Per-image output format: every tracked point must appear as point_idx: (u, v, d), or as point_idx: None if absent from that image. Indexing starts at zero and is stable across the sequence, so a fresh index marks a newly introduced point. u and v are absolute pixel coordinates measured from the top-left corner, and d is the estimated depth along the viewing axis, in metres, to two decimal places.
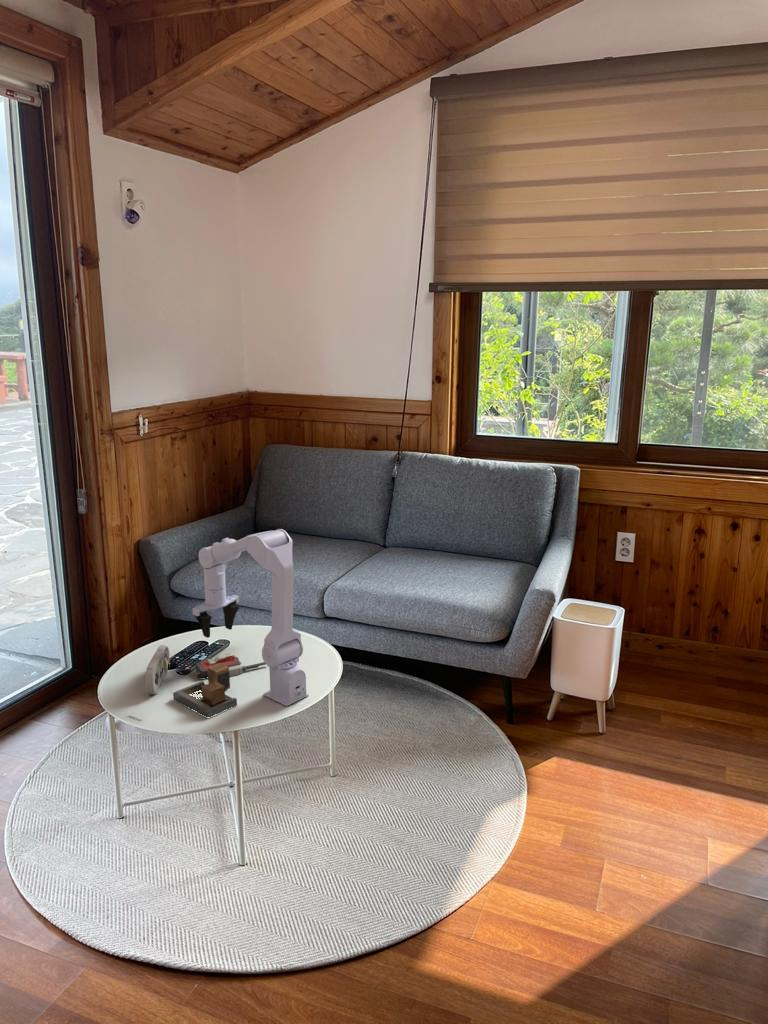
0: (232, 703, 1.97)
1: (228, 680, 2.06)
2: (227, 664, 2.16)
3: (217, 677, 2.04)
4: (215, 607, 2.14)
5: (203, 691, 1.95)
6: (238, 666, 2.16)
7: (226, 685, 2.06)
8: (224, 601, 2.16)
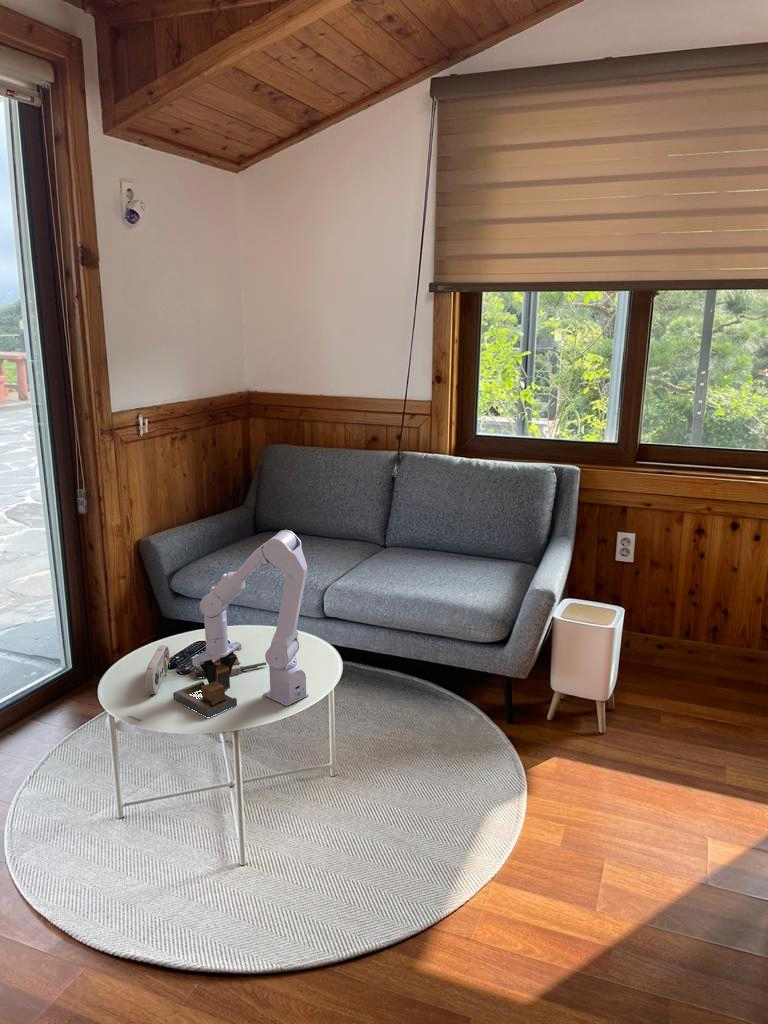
0: (232, 703, 1.97)
1: (228, 680, 2.06)
2: None
3: (217, 677, 2.04)
4: (216, 657, 2.02)
5: (203, 691, 1.95)
6: (237, 666, 2.16)
7: (226, 685, 2.06)
8: (226, 650, 2.04)
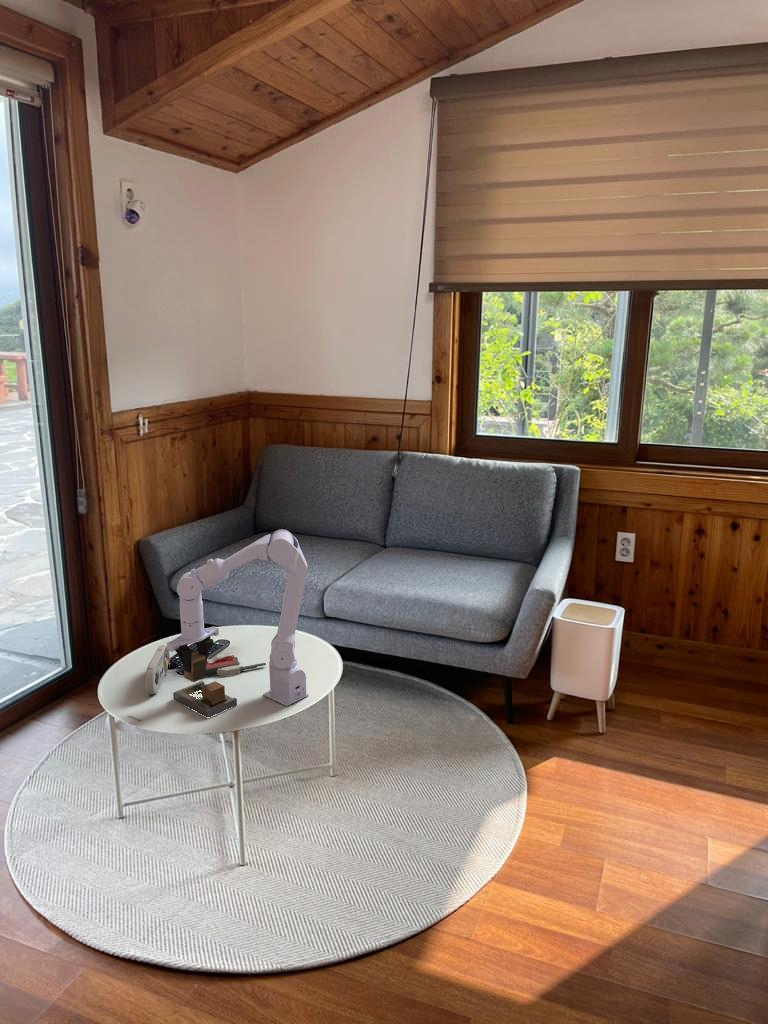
0: (232, 703, 1.97)
1: (204, 669, 1.99)
2: (225, 664, 2.16)
3: (193, 666, 1.97)
4: (192, 641, 1.95)
5: (203, 691, 1.95)
6: (236, 666, 2.16)
7: (202, 674, 1.99)
8: (202, 634, 1.96)
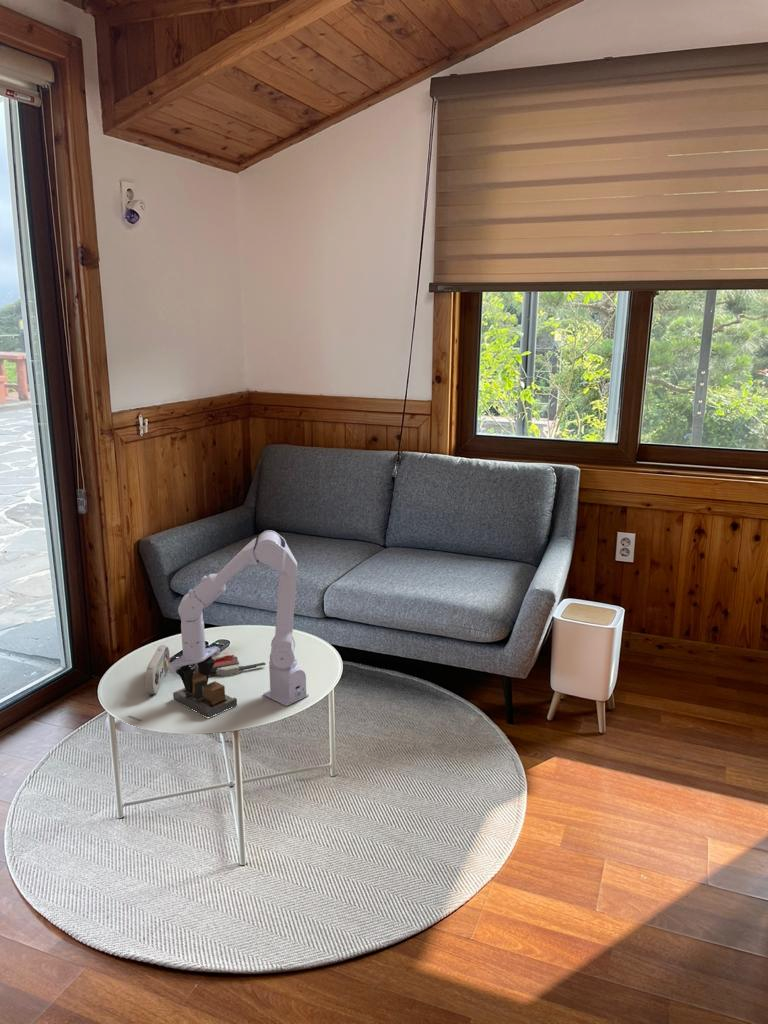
0: (232, 703, 1.97)
1: None
2: (224, 663, 2.17)
3: (194, 686, 1.98)
4: (193, 662, 1.96)
5: (203, 691, 1.95)
6: (235, 666, 2.16)
7: None
8: (203, 655, 1.98)
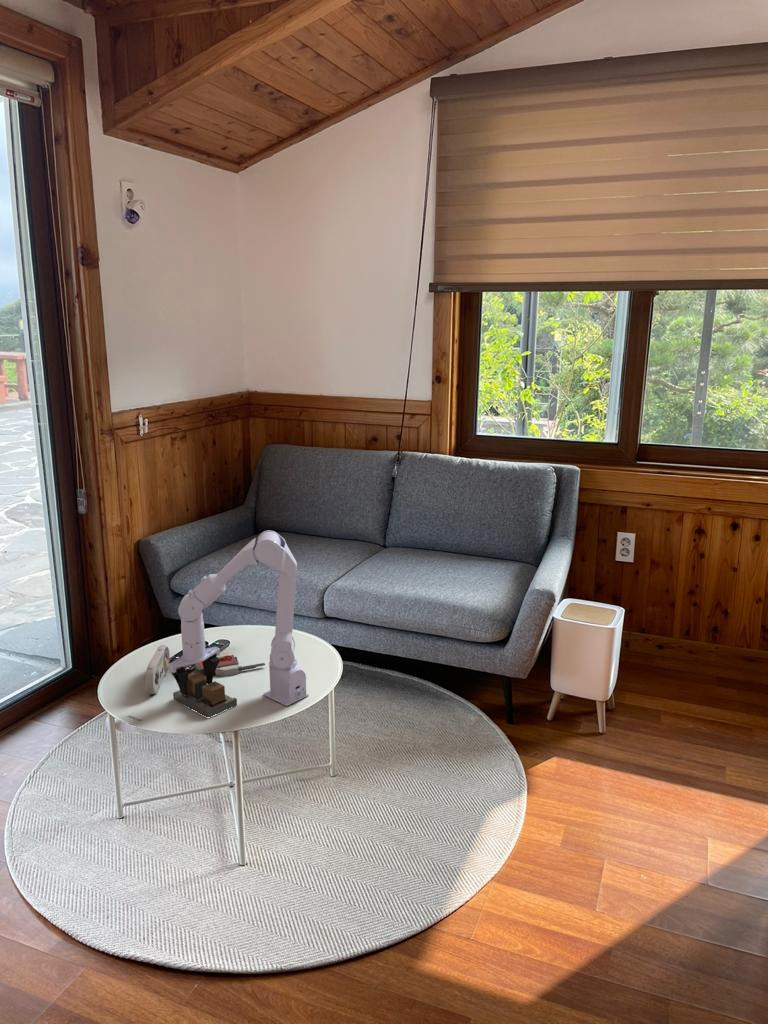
0: (232, 703, 1.97)
1: None
2: (224, 663, 2.17)
3: (194, 686, 1.98)
4: (193, 662, 1.96)
5: (203, 691, 1.95)
6: (234, 666, 2.16)
7: None
8: (203, 655, 1.98)
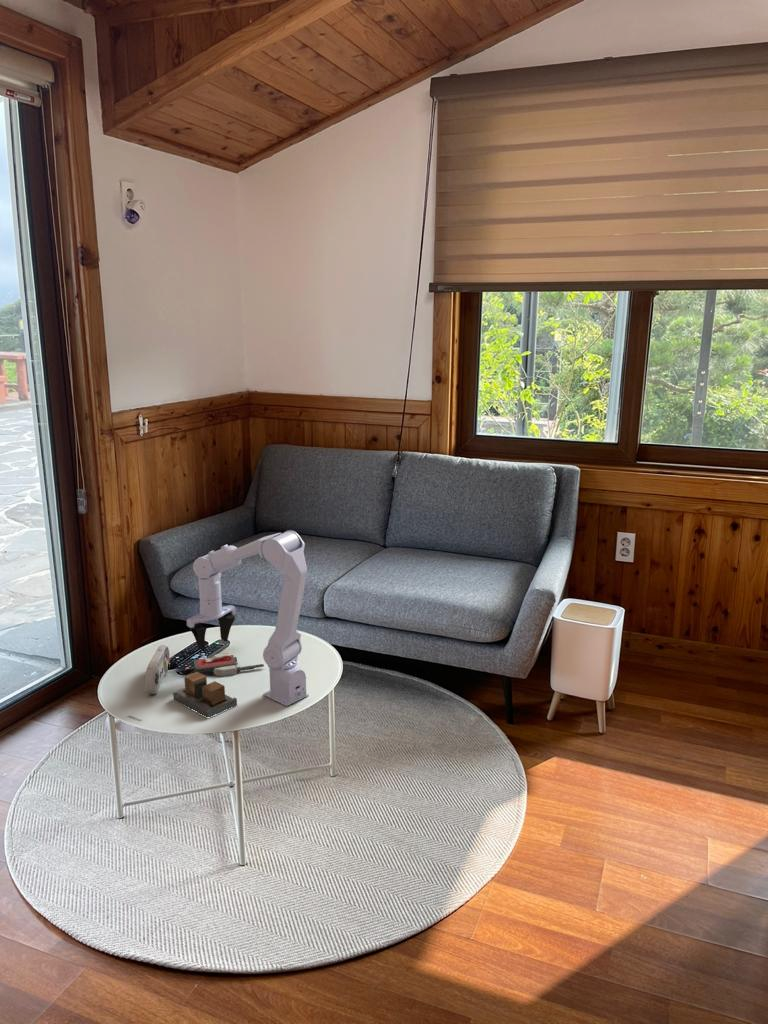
0: (232, 703, 1.97)
1: None
2: (222, 663, 2.17)
3: (194, 686, 1.98)
4: (210, 618, 2.06)
5: (203, 691, 1.95)
6: (233, 666, 2.16)
7: None
8: (219, 612, 2.08)
